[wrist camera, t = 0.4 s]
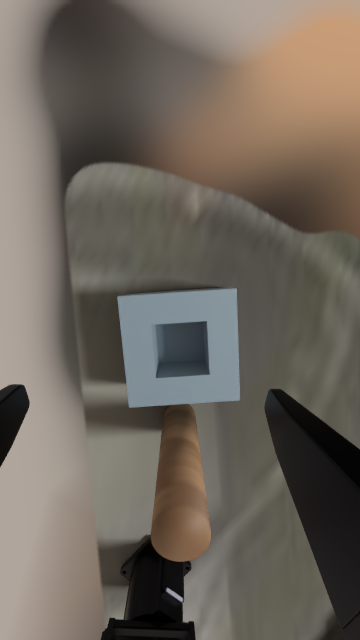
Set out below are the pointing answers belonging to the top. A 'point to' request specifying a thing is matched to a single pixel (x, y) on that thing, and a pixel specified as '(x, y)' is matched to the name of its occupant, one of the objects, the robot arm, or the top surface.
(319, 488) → the robot arm
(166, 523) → the walnut peg
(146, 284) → the top surface
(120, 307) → the hole block
